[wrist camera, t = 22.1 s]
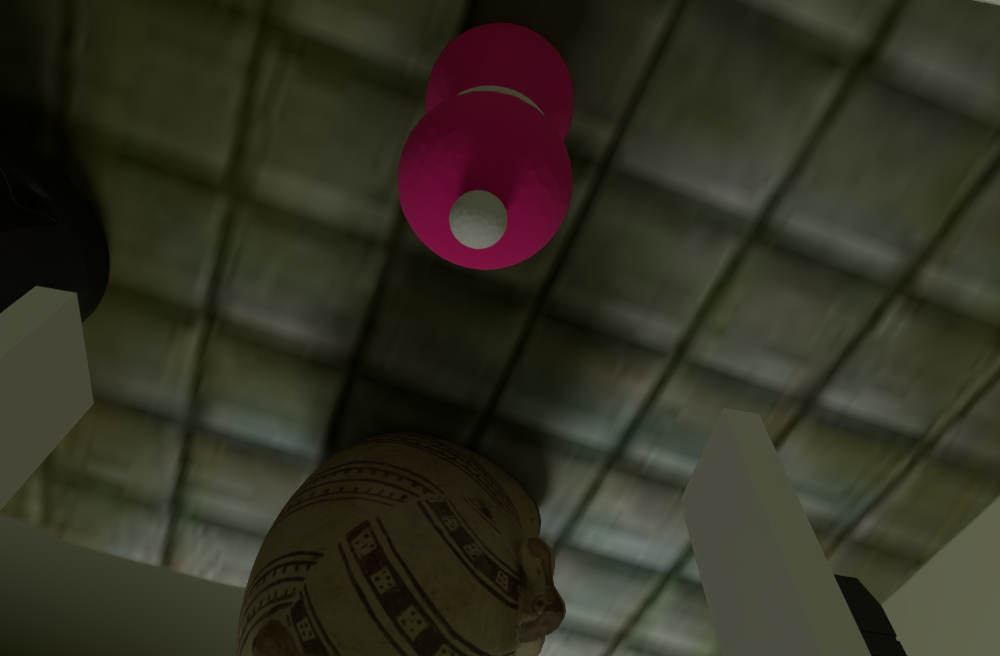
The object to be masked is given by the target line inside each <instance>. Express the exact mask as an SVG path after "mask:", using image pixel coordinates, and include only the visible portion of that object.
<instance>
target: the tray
mask: <svg viewBox="0 0 1000 656" xmlns="http://www.w3.org/2000/svg"><path fill="white" fill-rule="evenodd" d="M975 1H980V2H985V3H990V4H995V5H1000V0H975Z"/></svg>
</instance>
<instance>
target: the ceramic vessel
mask: <svg viewBox="0 0 1000 656" xmlns="http://www.w3.org/2000/svg"><path fill="white" fill-rule="evenodd" d="M540 527H541V518H540V513H539V509H538V507H537V504H536V503H535V501H534V500H533V498H532V497H531V495H530V494H529V493H528V492H527V490H526V489H525V488H524V487H523V486H522V485H521V484H520V483H518V482H517V481H516V480H515V479H514V478H512V477H511V476H510V475H509V474H507V473H506V472H505V471H503V470H502V469H500V468H499V467H497V466H496V465H495V464H493V463H492V462H490V461H489V460H487V459H486V458H484V457H482V456H481V455H479V454H477V453H475V452H473V451H471V450H469V449H467V448H465V447H463V446H460V445H458V444H455V443H453V442H450V441H447V440H443V439H440V438H437V437H434V436H430V435H425V434H421V433H416V432H392V433H384V434H379V435H375V436H372V437H369V438H366V439H363V440H360V441H358V442H356V443H354V444H352V445H350V446H348V447H346V448H345V449H343V450H342V451H340V452H338V453H337V454H335V455H334V456H332V457H331V458H330V459H328V460H327V461H326V462H325V463H323V464H322V465H321V466H320V467H319V468H318V469H317V470H316V471H314V472H313V473H312V474H311V475H310V476H309V477H308V478H307V479H306V481H305V482H304V483H303V484H302V485H301V486H300V488H299V489H298V490H297V491H296V492H295V493H294V494H293V496H292V497H291V498H290V499H289V501H288V502H287V504H286V505H285V506H284V508H283V509H282V510H281V512H280V514H279V515H278V517H277V519H276V520H275V522H274V524H273V525H272V527H271V529H270V530H269V532H268V534H267V536H266V538H265V540H264V542H263V544H262V546H261V548H260V551H259V553H258V555H257V557H256V560H255V562H254V565H253V568H252V571H251V574H250V577H249V580H248V583H247V587H246V590H245V594H244V598H243V602H242V607H241V611H240V617H239V623H238V629H237V639H236V650H235V652H236V653H235V654H236V656H538V655H539V653H540V652H541V649H542V647H543V644H544V641H545V636H546V635H548V634H550V633H552V632H553V631H554V630H556V629H557V628H558V627H559V625H560V624H561V622H562V620H563V619H564V617H565V613H566V609H565V603H564V601H563V599H562V598H561V596H560V594H559V593H558V591H557V589H556V588H555V586H554V582H553V573H554V568H555V553H554V552H553V550H552V549H551V547H550V546H549V545H548V544H547V543H546V542H545V541H543V540H542V539H541V538H538V537H539V534H540Z"/></svg>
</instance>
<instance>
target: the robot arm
mask: <svg viewBox="0 0 1000 656" xmlns="http://www.w3.org/2000/svg"><path fill="white" fill-rule="evenodd" d="M107 278H108V259H107V252H106V247H105V243H104V240H103V237H102V234H101V231H100V228H99V226H98V224H97V222H96V220H95V218H94V216H93V214H92V212H91V210H90V209H89V207H88V205H87V204H86V202H85V201H84V199H83V198H82V196H81V195H80V194H79V192H78V191H77V190H76V188H75V187H74V186H73V185H72V184H71V182H70V181H69V180H68V179H67V178H66V177H65V176H64V175H63V174H62V173H61V172H60V171H59V170H58V169H57V168H56V167H55V166H54V165H53V164H52V163H51V162H50V161H48V160H47V159H46V158H45V157H43V156H42V155H41V154H40V153H38V152H37V151H36V150H34V149H33V148H32V147H30V146H29V145H27V144H25V143H24V142H22V141H21V140H19V139H17V138H16V137H14V136H12V135H10V134H8V133H6V132H4V131H3V130H0V510H1V509H2V508H3V507H4V505H5V504H6V503H7V502H8V501H9V500H10V499H11V497H12V496H13V495H14V494H15V493H16V492H17V491H18V489H19V488H20V487H21V486H22V485H23V484H24V483H25V481H26V480H27V479H28V478H29V477H30V476H31V474H32V473H33V472H34V471H35V470H36V469H37V468H38V466H39V465H40V464H41V463H42V462H43V461H44V460H45V458H46V457H47V456H48V455H49V454H50V453H51V452H52V450H53V449H54V448H55V447H56V446H57V445H58V444H59V442H60V441H61V440H62V439H63V438H64V437H65V436H66V434H67V433H68V432H69V431H70V430H71V429H72V428H73V426H74V425H75V424H76V423H77V422H78V421H79V420H80V418H81V417H82V416H83V415H84V414H85V413H86V412H87V410H88V409H89V408H90V407H91V406H92V405H93V404H94V403H93V396H92V389H91V383H90V376H89V370H88V363H87V356H86V350H85V343H84V337H83V330H82V322H83V321H85V320H86V319H87V318H88V317H89V316H90V315H91V314H92V313H93V312H94V310H95V309H96V308H97V306H98V305H99V303H100V301H101V299H102V297H103V295H104V292H105V289H106V284H107ZM680 501H681V505H682V509H683V513H684V517H685V520H686V524H687V528H688V532H689V535H690V539H691V543H692V547H693V551H694V554H695V558H696V562H697V566H698V569H699V573H700V577H701V581H702V585H703V588H704V592H705V596H706V600H707V604H708V607H709V611H710V615H711V619H712V622H713V626H714V630H715V634H716V638H717V641H718V645H719V649H720V653H721V656H907V655H906V653H905V651H904V649H903V647H902V645H901V643H900V641H897V640H896V633H895V631H894V630H893V628H892V626H891V624H890V622H889V620H888V618H887V616H886V614H885V612H884V610H883V608H882V606H881V605H880V604H879V603H878V601H877V600H876V599H875V598H874V597H873V596H872V595H871V594H870V592H869V591H868V590H867V589H866V588H865V587H864V586H863V584H862V583H861V582H860V581H859V580H858V579H857V578H853V577H846V576H840V575H834V574H833V572H832V570H831V568H830V566H829V564H828V562H827V560H826V557H825V555H824V553H823V551H822V549H821V547H820V545H819V542H818V540H817V538H816V536H815V534H814V532H813V530H812V527H811V525H810V523H809V521H808V519H807V517H806V515H805V512H804V510H803V508H802V506H801V504H800V502H799V499H798V497H797V495H796V493H795V491H794V489H793V487H792V484H791V482H790V480H789V478H788V476H787V474H786V472H785V469H784V467H783V465H782V463H781V461H780V459H779V457H778V454H777V452H776V450H775V448H774V446H773V444H772V441H771V439H770V437H769V435H768V433H767V431H766V429H765V426H764V424H763V422H762V420H761V418H760V416H759V414H756V413H751V412H745V411H739V410H734V409H728V408H723V410H722V412H721V414H720V417H719V419H718V421H717V423H716V425H715V427H714V429H713V432H712V434H711V436H710V438H709V440H708V442H707V444H706V447H705V449H704V451H703V453H702V455H701V457H700V459H699V462H698V464H697V466H696V468H695V470H694V472H693V474H692V477H691V479H690V481H689V483H688V485H687V487H686V489H685V492H684V494H683V496H682V498H681V500H680Z"/></svg>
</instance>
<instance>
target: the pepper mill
mask: <svg viewBox="0 0 1000 656" xmlns="http://www.w3.org/2000/svg"><path fill="white" fill-rule="evenodd" d="M573 108H574V91H573V84H572V80H571V77H570V73H569V70H568V68H567V66H566V64H565V62H564V60H563V58H562V57H561V56H560V54H559V53H558V51H557V50H556V49H555V48H554V47H553V46H552V45H551V44H550V43H549V42H548V41H547V40H546V39H545V38H543V37H542V36H541V35H539V34H538V33H536V32H534V31H532V30H530V29H528V28H526V27H524V26H521V25H518V24H513V23H490V24H483V25H480V26H477V27H475V28H472V29H469V30H467V31H466V32H464V33H462V34H461V35H459V36H457V37H456V38H455V39H454V40H453V41H452V42H450V43H449V44H448V45H447V46H446V48H445V49H444V50H443V51H442V53H441V54H440V55H439V57H438V59H437V61H436V62H435V64H434V66H433V69H432V72H431V74H430V77H429V82H428V87H427V92H426V113H427V114H426V115H424V116H423V117H422V119H421V120H420V121H419V122H418V124H417V125H416V126H415V127H414V129H413V130H412V131H411V133H410V135H409V137H408V139H407V141H406V143H405V146H404V148H403V151H402V154H401V158H400V162H399V167H398V192H399V198H400V202H401V206H402V210H403V213H404V215H405V217H406V219H407V221H408V223H409V225H410V226H411V228H412V229H413V231H414V232H415V234H416V235H417V236H418V238H419V239H420V240H421V241H422V242H423V243H424V244H425V245H426V246H427V247H428V248H429V249H430V250H432V251H433V252H435V253H436V254H437V255H439V256H440V257H441V258H443V259H445V260H447V261H449V262H451V263H453V264H456V265H460V266H463V267H467V268H472V269H480V270H491V269H501V268H504V267H508V266H512V265H516V264H518V263H520V262H522V261H524V260H526V259H528V258H530V257H532V256H533V255H534V254H536V253H537V252H538V251H539V250H540V249H542V248H543V247H544V246H545V245H546V244H547V243H548V242H549V241H550V239H551V238H552V237H553V236H554V234H555V233H556V232H557V230H558V229H559V227H560V225H561V223H562V221H563V220H564V218H565V215H566V213H567V210H568V208H569V203H570V198H571V194H572V171H571V162H570V158H569V155H568V151H567V149H566V146H565V144H564V139H565V137H566V135H567V133H568V131H569V128H570V124H571V121H572V114H573Z"/></svg>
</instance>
